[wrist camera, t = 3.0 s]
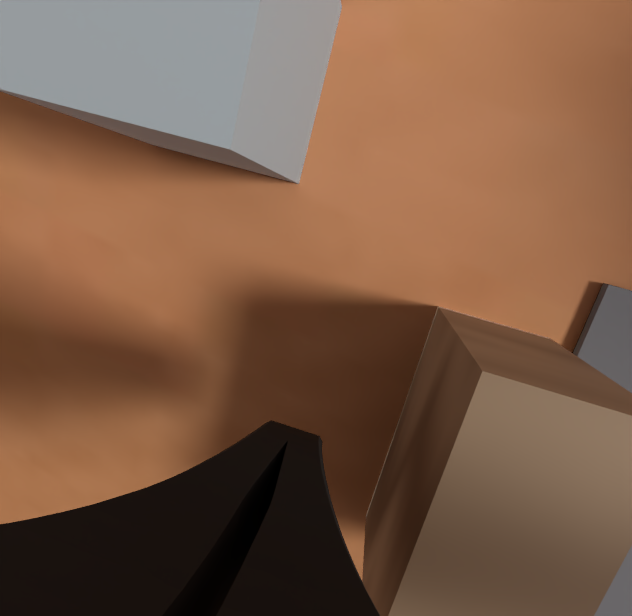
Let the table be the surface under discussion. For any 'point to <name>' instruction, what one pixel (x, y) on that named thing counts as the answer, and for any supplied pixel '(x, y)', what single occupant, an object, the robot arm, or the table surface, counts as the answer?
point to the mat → (628, 371)
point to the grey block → (178, 71)
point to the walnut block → (501, 480)
